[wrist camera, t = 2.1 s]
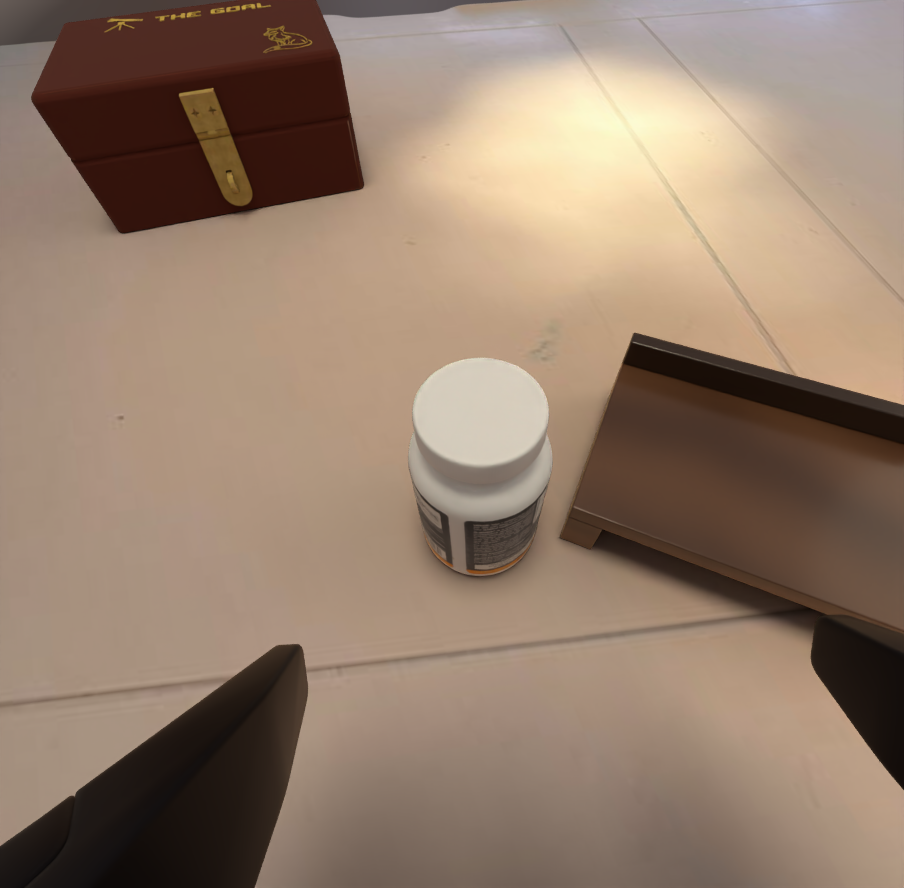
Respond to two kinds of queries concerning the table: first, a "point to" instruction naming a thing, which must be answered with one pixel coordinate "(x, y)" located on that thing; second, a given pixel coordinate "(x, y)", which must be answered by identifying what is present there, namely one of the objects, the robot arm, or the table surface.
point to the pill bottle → (480, 463)
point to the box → (201, 110)
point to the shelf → (752, 478)
